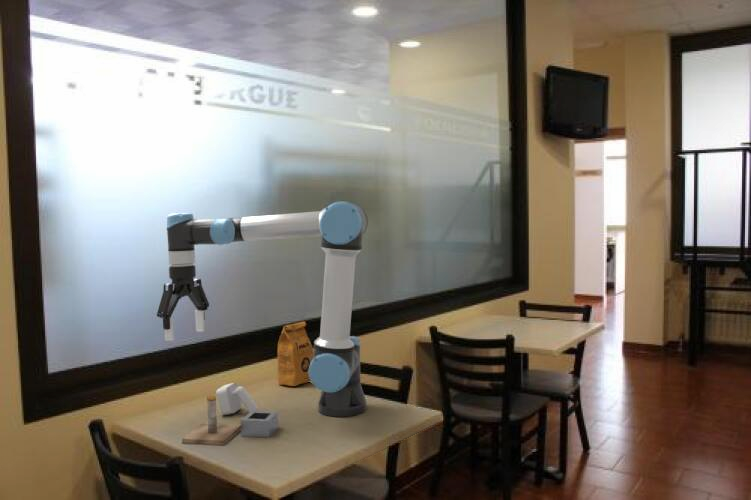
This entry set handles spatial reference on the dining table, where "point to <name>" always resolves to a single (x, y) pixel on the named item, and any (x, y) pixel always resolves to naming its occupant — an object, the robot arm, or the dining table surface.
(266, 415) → the link
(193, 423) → the dining table surface
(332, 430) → the dining table surface
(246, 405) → the wall hook
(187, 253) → the robot arm
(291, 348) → the coffee package
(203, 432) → the keeper
